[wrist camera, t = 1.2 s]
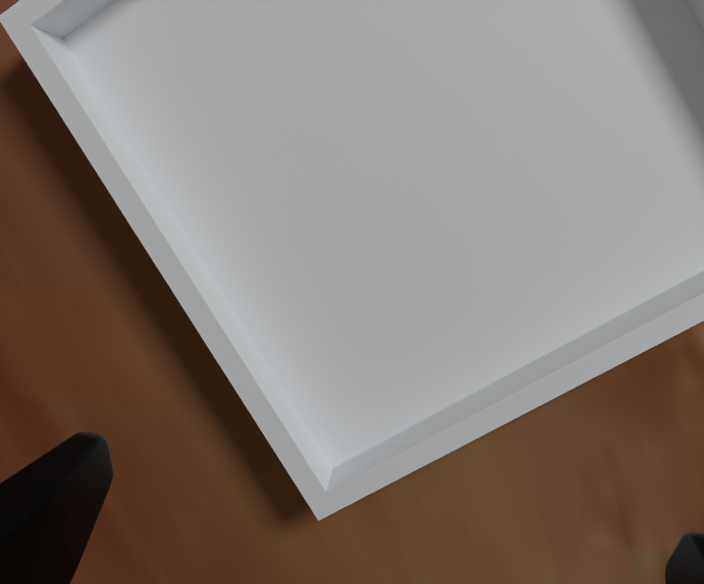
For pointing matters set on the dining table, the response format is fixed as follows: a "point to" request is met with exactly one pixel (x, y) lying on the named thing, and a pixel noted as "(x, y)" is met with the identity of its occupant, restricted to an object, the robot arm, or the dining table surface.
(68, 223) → the dining table surface
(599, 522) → the dining table surface
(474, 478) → the dining table surface
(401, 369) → the tray
